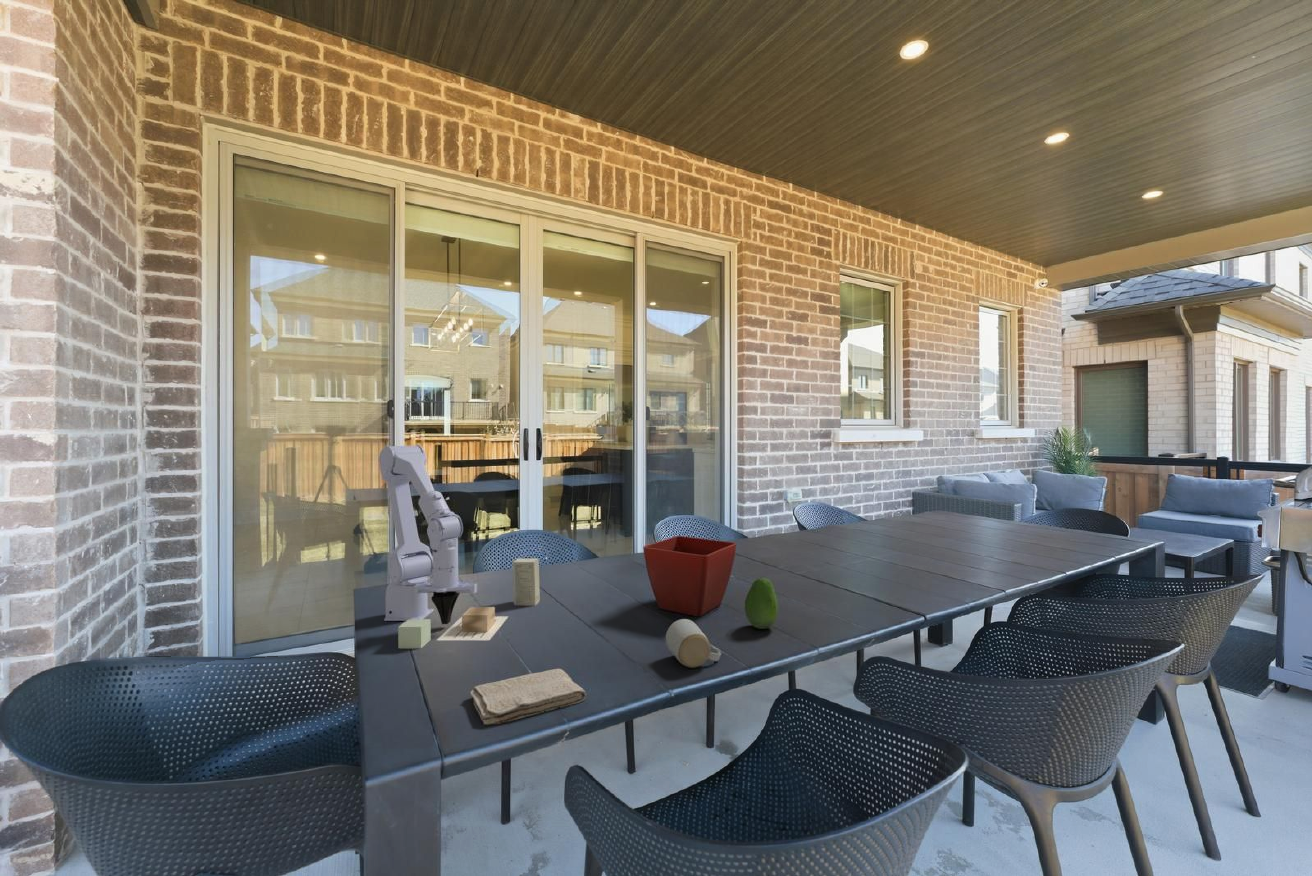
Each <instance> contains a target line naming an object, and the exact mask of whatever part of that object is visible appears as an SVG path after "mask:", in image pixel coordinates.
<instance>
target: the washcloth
mask: <svg viewBox="0 0 1312 876" xmlns="http://www.w3.org/2000/svg"><path fill="white" fill-rule="evenodd" d="M469 693H470V694H469V695H470V696H471V697H472V699H473V706H474V708H475V710H476V712H477V713H478V715H479V717H480V720H481V721H483V722H482V723H483V725H486V726H488V725H497V724H501V723H505V722H512V721H514V720H515V721H516V720H519V719H523V718H527V717H529V716H530V717H531V716H533V715H534V716H535V715H537V714H542V713H545V712H544V711H546V712H550V711H553V710H557V709H559V708H558V707H560V708H563V707H569V706H571V705H574V704H579V703H581V702H583V701H584V700H585V699H586V698H587V693H586V691H585V690H584V688H582V687H581V686H580V685H579V684H577V683H576V682H574V681H573V679H572V678H571V677H570V676H569V674H568V673H566V672H565V671H564V670H563V669H561V668H554V669H548V670H545V671H540V672H533V673H532V672H531V673H529V674H524V675H519V676H514V677H509V678H506V679H501V680H499V681H498V680H497V681H494V682H487V683H483V684H479V685H475V686H474V687H473V689H472V690H471V691H470V692H469ZM556 708H557V709H556ZM539 712H540V713H539ZM541 712H542V713H541ZM526 716H527V717H526Z"/></svg>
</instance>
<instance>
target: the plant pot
mask: <svg viewBox="0 0 1312 876" xmlns="http://www.w3.org/2000/svg"><path fill="white" fill-rule="evenodd" d="M642 549H643V556H644V562H645V565H646V572H647V574H648V578H649V582H650V586H651V589H652V593H653V596H654V598H655V600H656V603H657V606H658V609H661V610H666V611H670V612H675V613H680V614H685V615H690V616H694V617H702V616H703V615H705V614H707V613H709V612H711V611H713V610H714V609H715V608H717V607H719V606H720V605H721V604H722V602H723V599H724V596H725V594H726V591H727V588H728V584H729V581H730V577H731V575H732V570H733V566H734V562H735V561H734V560H735V556H736V551H737V543H736V542H733V541H732V542H731V541H730V542H729V541H724V540H722V541H721V540H715V539H709V538H708V539H707V538H699V537H690V536H684V535H676V536H673V537H670V538H666V539H663V540H660V541H657V542H654V543H650V544H647V545H644V546H643V548H642Z"/></svg>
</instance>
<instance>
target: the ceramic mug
mask: <svg viewBox="0 0 1312 876" xmlns="http://www.w3.org/2000/svg"><path fill="white" fill-rule="evenodd" d="M665 644H666V647H667V648H668V650H669V651H670V652H671V654H672V655H673V656H674V657H675V658H676V660H677V661H678V662H679V663H680V664H682V665H683V666H684V667H687V668H690V669H693V668H698V667H701V666H702V665H704V664H705V663H706V662H707V660H710V661H713V662H719V660H720V658H721V655H722V653H721V652H720V650H718V648H716V647H715V646H714V645H711V644H710V641H709V639H708V638H707V636H706V635H705V633H703V632H702V629H700V627H699V626H698V625H697V624H696V623H695V622H694V621H693V620H691V619H687V618H681V619H678V620H676V621H674V622H672V624H670V626H669V627H668V628H667V631H666V634H665Z"/></svg>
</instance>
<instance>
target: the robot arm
mask: <svg viewBox="0 0 1312 876" xmlns="http://www.w3.org/2000/svg"><path fill="white" fill-rule="evenodd" d="M427 459H428V458H427V454H426V451H425V449H424V447H423V446H422V445H420V444H416V445H394V446H393V445H391V446H390V445H385V446H383V447H382V449H381V451H380V453H379V457H378V463H379V470H380V473H381V474H380V475H381V479H382V480H383V481H384V482H386V485H387V486H386V487H387V491H388V496H389V503H390V507H391V513H392V520H393V524H394V525H393V526H394V530H395V536H396V542H397V546H396V547H395V548H394V549H393V550H392V551H391V552H390V554H389V555H388V571H387V572H388V575H389V578H390V580H391V582H390V583H389V584H388V585H387V587H386V589H385V590H386V591H385V617H384V622H385V621H386V622H388V621H392V622H395V621H396V622H398V621H401V622H402V621H403V622H406V621H407V620H408V619H426V617H429V615H430V614H432V613H433V612H434V608H429V607H428V598H429V597H428V594H432V596H431V601H432V603H433V604H434V606H435V608H436V610H437V612H438V615H439V618H440V621H441V625H448V624H449V623H450V622H451V620H452V615H453V610H454V608H455V604H456V602H457V600H458V598H459V596H460V594H471V595H474V594H476V593H477V592H478V583H472V582H471V583H470V582H461V581H459V539H460V538H461V537H462V534H463V533H464V526H463V525H464V524H463V522H462V521H463V520H462V519H461V517H460V516H459V514H455V512H454V511H451V509H450V507H449V505H448V504H447V501H446V500H445V498H444V496H443V494H442V492H440V491H437V490H435V488H434V486H433V484H432V481H431V479H430V476H429V473H428V470H427V467H426V465H427ZM410 482H411V484H412V486H413V487H414V489H415V491H416V492H417V494H418V495H419V497H420V498H419V499H418V507H420V511H421V512H422V514H423V516H424V519H425V520H426V522H427V528H426V533H427V537H428V540H429V545H426V544H425V543H422V542H421V541H420V539H419V538H420V537H419V533H418V527H417V522H416V521H417V520H416V516H415V510H414V506H413V501H412V500H413V499H412V494H411V489H410V485H409V484H410ZM431 550H432V553H431ZM431 576H432V582H428V581H430V580H431Z"/></svg>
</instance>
